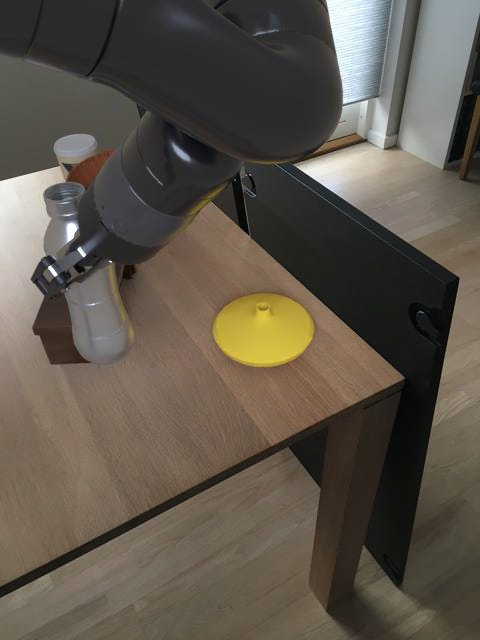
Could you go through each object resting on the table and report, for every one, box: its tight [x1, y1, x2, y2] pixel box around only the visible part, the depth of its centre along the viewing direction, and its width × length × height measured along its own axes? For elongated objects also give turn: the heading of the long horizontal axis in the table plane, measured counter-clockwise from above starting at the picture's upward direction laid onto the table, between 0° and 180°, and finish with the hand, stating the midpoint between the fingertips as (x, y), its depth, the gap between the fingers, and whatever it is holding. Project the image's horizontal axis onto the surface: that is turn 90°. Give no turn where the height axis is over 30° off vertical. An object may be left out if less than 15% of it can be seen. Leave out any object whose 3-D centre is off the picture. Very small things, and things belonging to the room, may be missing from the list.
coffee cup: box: [53, 133, 99, 182], centre depth 120 cm, size 9×9×12 cm
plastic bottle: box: [42, 181, 135, 366], centre depth 54 cm, size 6×7×20 cm
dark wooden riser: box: [31, 184, 137, 365], centre depth 86 cm, size 24×11×18 cm, turn 1°
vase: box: [212, 292, 315, 368], centre depth 83 cm, size 16×16×7 cm
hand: (76, 273), depth 55 cm, fingers closed on plastic bottle, 6 cm apart
